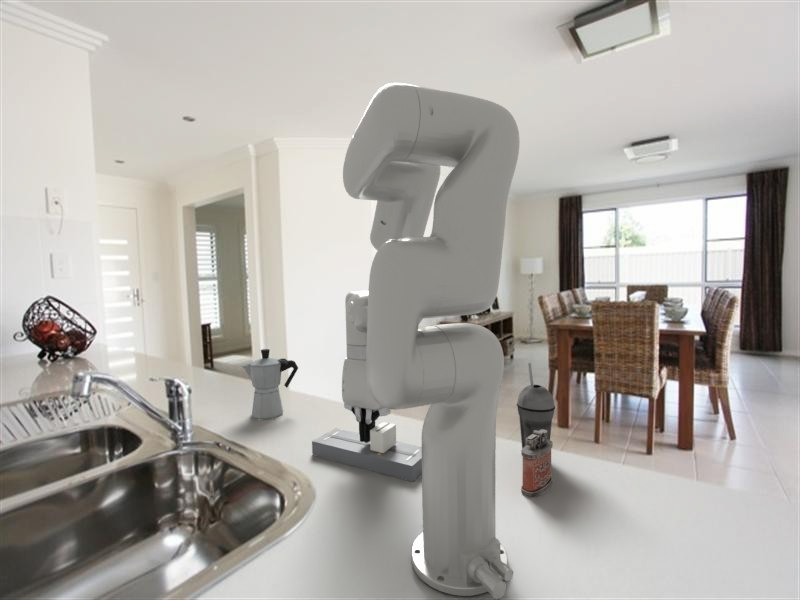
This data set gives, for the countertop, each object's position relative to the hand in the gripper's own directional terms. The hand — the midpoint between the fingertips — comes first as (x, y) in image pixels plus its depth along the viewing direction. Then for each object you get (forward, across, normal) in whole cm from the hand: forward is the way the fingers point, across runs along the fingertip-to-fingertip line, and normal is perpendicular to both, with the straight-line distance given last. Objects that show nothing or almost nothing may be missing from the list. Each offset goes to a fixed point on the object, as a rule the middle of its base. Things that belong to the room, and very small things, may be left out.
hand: (367, 439), depth 84 cm
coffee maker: (+4, +39, -11) cm, 41 cm away
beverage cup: (+4, -31, -14) cm, 34 cm away
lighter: (+4, -33, -4) cm, 33 cm away
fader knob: (+1, -4, 0) cm, 4 cm away
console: (+4, 0, 0) cm, 4 cm away
